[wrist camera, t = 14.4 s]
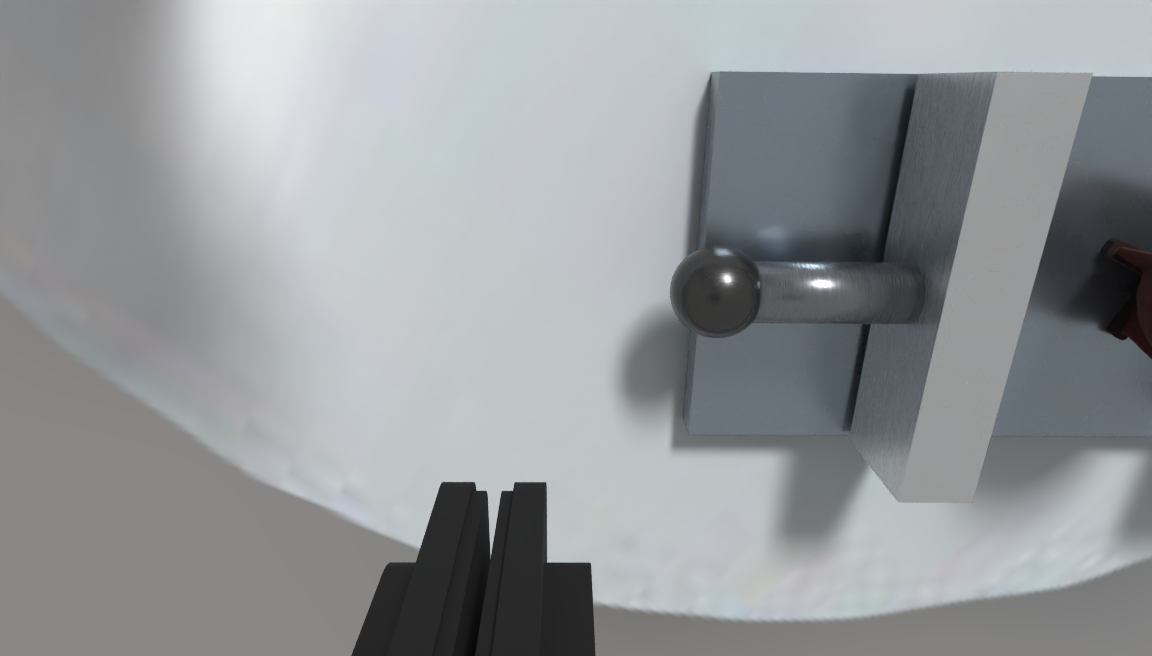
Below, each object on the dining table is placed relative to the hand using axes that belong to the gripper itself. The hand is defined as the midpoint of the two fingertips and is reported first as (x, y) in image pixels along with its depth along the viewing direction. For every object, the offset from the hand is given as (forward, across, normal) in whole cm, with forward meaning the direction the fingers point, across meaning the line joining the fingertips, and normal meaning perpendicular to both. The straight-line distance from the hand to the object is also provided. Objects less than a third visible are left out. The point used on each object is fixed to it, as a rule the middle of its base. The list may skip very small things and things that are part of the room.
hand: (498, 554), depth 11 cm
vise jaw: (+17, -11, 0) cm, 21 cm away
